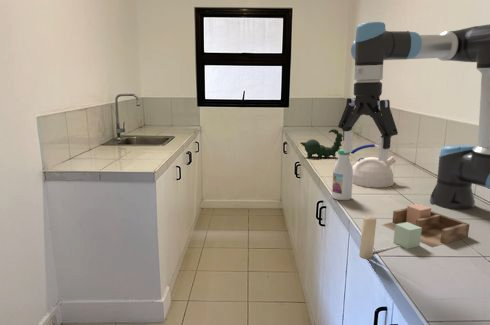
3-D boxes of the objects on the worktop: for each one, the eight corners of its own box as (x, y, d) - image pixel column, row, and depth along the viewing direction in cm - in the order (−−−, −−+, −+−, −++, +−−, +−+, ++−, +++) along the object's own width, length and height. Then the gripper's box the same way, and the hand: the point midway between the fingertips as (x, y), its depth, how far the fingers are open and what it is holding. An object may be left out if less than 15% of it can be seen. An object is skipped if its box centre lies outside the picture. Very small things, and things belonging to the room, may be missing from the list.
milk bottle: (348, 194, 158) (350, 148, 154) (353, 200, 151) (356, 151, 147) (329, 195, 158) (332, 148, 154) (334, 201, 151) (337, 151, 146)
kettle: (398, 189, 167) (401, 148, 163) (349, 186, 171) (352, 147, 167) (390, 177, 186) (393, 141, 182) (347, 175, 190) (349, 140, 186)
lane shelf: (415, 218, 131) (416, 205, 130) (467, 238, 115) (469, 224, 114) (381, 226, 124) (382, 213, 123) (432, 249, 108) (433, 234, 107)
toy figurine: (338, 158, 238) (298, 154, 240) (342, 129, 233) (302, 125, 236) (339, 162, 229) (298, 157, 231) (344, 131, 224) (302, 126, 227)
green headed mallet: (404, 243, 113) (409, 208, 111) (419, 249, 109) (423, 213, 107) (354, 253, 105) (358, 216, 103) (367, 261, 100) (371, 222, 98)
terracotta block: (416, 220, 128) (418, 203, 127) (429, 225, 124) (431, 208, 122) (406, 222, 126) (407, 205, 124) (418, 228, 121) (420, 210, 120)
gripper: (327, 81, 114) (326, 150, 119) (395, 81, 93) (389, 165, 97) (346, 81, 118) (344, 148, 122) (415, 81, 96) (409, 162, 101)
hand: (364, 156), depth 110 cm, fingers open, 13 cm apart
